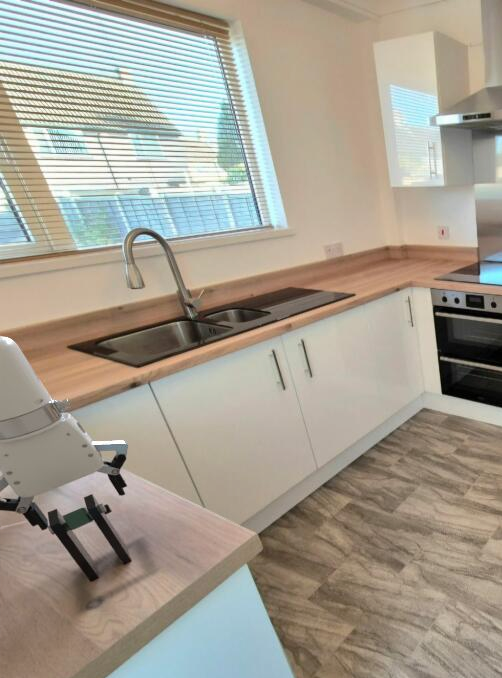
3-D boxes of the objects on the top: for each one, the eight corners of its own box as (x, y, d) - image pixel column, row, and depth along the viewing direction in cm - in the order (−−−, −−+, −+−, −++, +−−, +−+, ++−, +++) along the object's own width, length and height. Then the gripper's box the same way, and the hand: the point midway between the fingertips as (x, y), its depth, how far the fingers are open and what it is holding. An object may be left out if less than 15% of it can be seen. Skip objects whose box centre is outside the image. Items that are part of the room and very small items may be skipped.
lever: (71, 532, 70) (63, 520, 70) (113, 513, 74) (106, 501, 74) (55, 537, 60) (46, 522, 60) (105, 515, 64) (97, 501, 64)
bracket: (76, 569, 68) (32, 509, 63) (138, 539, 74) (102, 481, 68) (84, 606, 62) (35, 543, 57) (151, 570, 67) (112, 509, 62)
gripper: (96, 390, 71) (144, 472, 78) (-63, 438, 60) (10, 528, 67) (103, 403, 66) (153, 489, 74) (-69, 458, 55) (11, 552, 63)
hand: (85, 508), depth 71 cm, fingers open, 9 cm apart
